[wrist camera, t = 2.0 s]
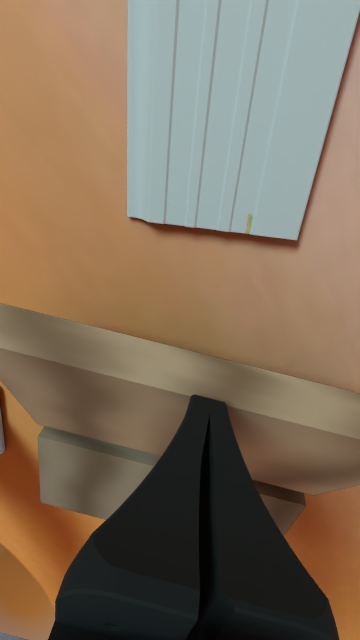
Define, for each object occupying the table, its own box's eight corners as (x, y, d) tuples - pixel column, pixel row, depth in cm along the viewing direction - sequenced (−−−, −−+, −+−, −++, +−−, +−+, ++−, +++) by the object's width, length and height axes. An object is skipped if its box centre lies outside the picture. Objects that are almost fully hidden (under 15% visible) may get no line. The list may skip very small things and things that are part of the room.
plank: (49, 397, 24) (37, 424, 23) (-8, 300, 14) (-35, 339, 13) (313, 465, 24) (313, 495, 23) (443, 414, 14) (455, 463, 13)
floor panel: (51, 481, 30) (40, 502, 28) (51, 401, 25) (37, 421, 23) (263, 536, 30) (265, 561, 28) (309, 467, 24) (315, 493, 23)
